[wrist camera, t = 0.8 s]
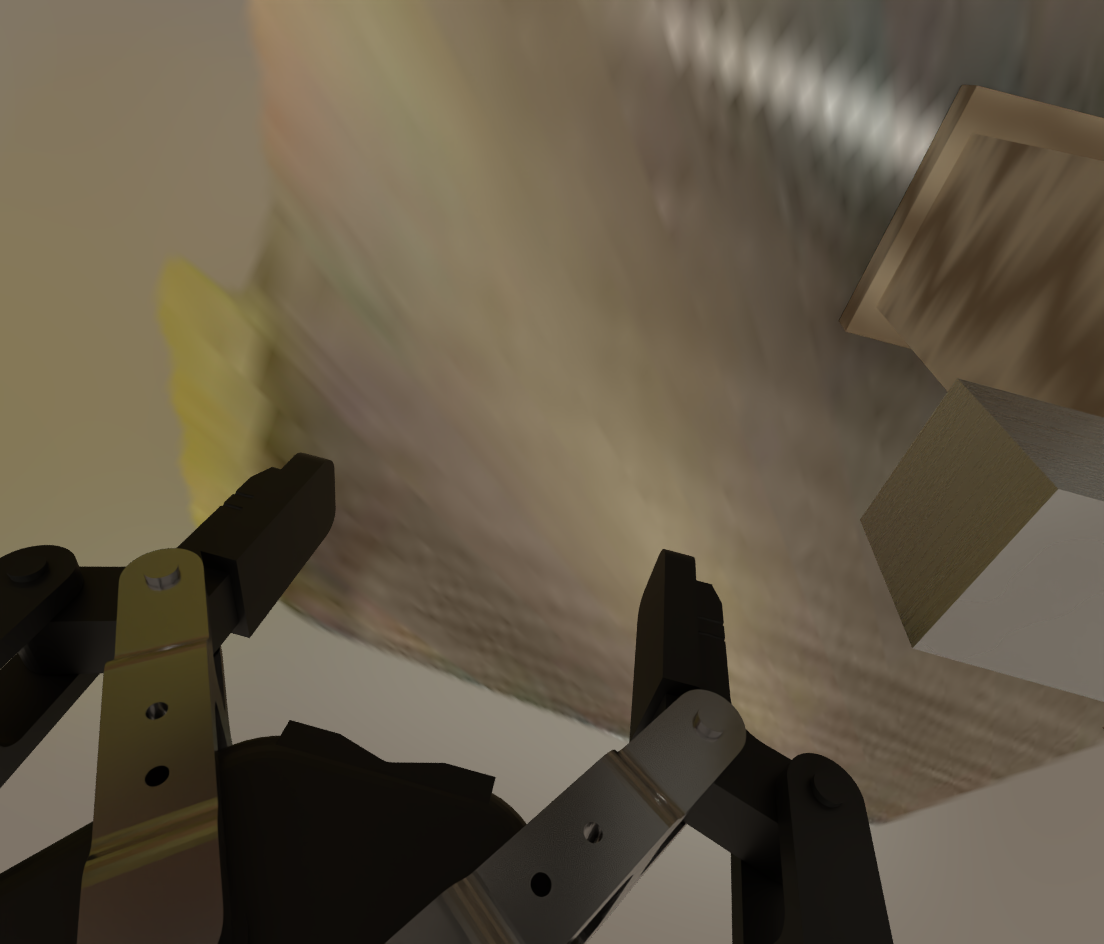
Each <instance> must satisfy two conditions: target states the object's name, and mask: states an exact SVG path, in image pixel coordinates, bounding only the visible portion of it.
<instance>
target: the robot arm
mask: <svg viewBox="0 0 1104 944" xmlns="http://www.w3.org/2000/svg"><path fill="white" fill-rule="evenodd" d="M335 510H336V506H335V474H334V464H333V462H332V461H331V460H328V459H324V458H320V457H317V456H313V455H309V454H305V453H297V454H296V455H295V456H294V457H293V458H292V459H291V460H290V461H289V462H288V463H287V464H286V465H285V466H284V467H283V468H282V469H277V468H274V467H271V468H269V469H267V470H265V471H263V472H260V473H258V474H256V475H254V476H252V477H250V478H249V479H248V480H247V481H246V482H245V483H244V484H243V485H242V486H241V487H240V488H239V489H238V490H237V491H236V493H235V494H233V495H231V496H230V497H229V498H228V499H227V500H226V501H225V502H224V505H223V506H220V507H219V508H218V509H217V510H216V511H215V512H214V513H213V514H212V515H211V516H210V517H208V518H207V519H206V520H205V521H204V522H203V523H202V524H201V525H200V526H199V527H198V528H197V529H196V530H195V531H194V532H193V533H192V534H191V535H190V536H189V537H188V538H187V539H186V540H185V541H184V542H182V543H181V544H180V545H179V546H178V547H177V548H167V549H160V550H155V551H152V552H149V553H146V554H144V555H142V556H140V557H138V558H136V559H135V560H133V561H132V562H131V563H130V564H129V565H127V566H126V567H79V565H78V563H77V560H76V558H75V556H74V554H73V553H72V552H71V551H70V550H68V549H66V548H63V547H60V546H54V545H40V546H32V547H27V548H23V549H20V550H17V551H14V552H11V553H9V554H7V555H5V556H3V557H1V558H0V788H1V787H2V785H3V784H4V783H5V782H6V781H7V780H8V779H9V777H10V776H11V775H12V774H13V773H14V772H15V771H16V769H17V768H18V767H19V766H20V765H21V764H22V762H23V761H24V760H25V759H26V758H27V757H28V756H29V754H30V753H31V752H32V751H33V750H34V749H35V748H36V746H37V745H38V744H39V743H40V742H41V741H42V740H43V738H44V737H45V736H46V735H47V734H48V732H49V731H50V730H51V729H52V728H53V727H54V726H55V725H56V723H57V722H58V721H59V720H60V719H61V718H62V716H63V715H64V714H65V713H66V712H67V711H68V710H69V708H70V707H71V706H72V705H73V704H74V703H75V701H76V700H77V699H78V698H79V697H80V696H81V694H82V693H83V692H84V691H85V690H86V689H87V688H88V687H89V685H90V684H91V683H92V682H93V681H94V680H95V678H96V677H97V676H98V675H99V674H100V673H104V675H103V688H102V702H101V716H100V731H99V745H98V760H97V773H96V789H95V802H94V817H93V822H91V823H89V824H87V825H86V826H84V827H82V828H80V829H79V830H77V831H75V832H73V833H71V834H70V835H68V836H66V837H64V838H63V839H61V840H59V841H57V842H55V843H54V844H52V845H50V846H49V847H47V848H45V849H43V850H41V851H40V852H38V853H36V854H34V855H32V856H31V857H29V858H27V859H25V860H24V861H22V862H20V863H18V864H17V865H15V866H13V867H11V868H9V869H8V870H6V871H4V872H2V873H1V874H0V944H586V943H587V942H588V941H589V939H590V938H591V937H592V936H593V935H594V934H595V933H596V931H597V930H598V929H599V928H600V927H601V926H602V924H603V923H604V922H605V921H606V920H607V919H608V917H609V916H610V915H611V914H612V912H613V911H614V910H615V909H616V908H617V906H618V905H619V904H620V903H621V902H622V900H623V899H624V898H625V896H626V895H627V894H628V892H629V891H630V890H631V889H632V888H633V886H634V885H635V884H636V883H637V882H638V880H639V879H640V878H641V877H642V876H643V875H644V873H645V872H646V871H647V870H648V869H649V868H650V867H651V865H652V864H653V863H654V862H655V861H656V860H657V858H658V857H659V856H660V855H661V854H662V853H663V852H664V850H665V849H666V848H667V847H668V846H669V845H670V843H671V842H672V841H673V840H674V839H675V837H676V836H677V835H678V834H679V833H680V832H681V831H682V830H683V828H684V827H685V826H686V825H687V824H688V825H690V826H691V827H693V828H694V829H696V830H697V831H699V832H701V833H702V834H703V835H705V836H706V837H708V838H709V839H711V840H713V841H714V842H715V843H717V844H718V845H720V846H721V847H723V848H724V849H726V850H728V851H729V852H730V853H731V884H732V885H731V889H732V940H733V941H732V942H733V943H732V944H893V939H892V935H891V930H890V925H889V920H888V915H887V910H886V905H885V900H884V895H883V890H882V886H881V881H880V876H879V871H878V866H877V861H876V857H875V851H874V846H873V842H872V837H871V832H870V827H869V822H868V817H867V812H866V807H865V803H864V799H863V796H862V794H861V792H860V790H859V788H858V786H857V784H856V783H855V782H854V780H853V779H852V777H851V776H850V775H849V774H848V773H847V772H846V771H845V770H844V769H843V768H842V767H841V766H839V765H838V764H837V763H835V762H834V761H832V760H830V759H828V758H827V757H824V756H822V755H818V754H814V753H803V754H800V755H798V756H796V757H795V758H793V760H791V759H789V758H787V757H786V756H784V755H782V754H780V753H779V752H777V751H775V750H774V749H772V748H770V747H769V746H767V745H765V744H764V743H762V742H761V741H759V740H758V739H756V738H755V737H754V736H753V735H751V734H750V733H749V732H748V731H747V730H746V729H745V725H744V722H743V720H742V718H741V716H740V714H739V713H738V711H737V710H736V709H735V707H734V706H733V705H732V704H731V699H730V689H729V678H728V666H727V655H726V644H725V642H724V639H725V633H724V626H723V623H724V621H723V610H722V603H721V601H720V599H719V597H718V595H717V594H716V592H715V590H714V588H713V586H712V584H708V583H704V582H700V581H697V580H696V566H695V558H694V557H692V556H689V555H685V554H681V553H677V552H673V551H670V550H666V549H663V550H662V551H661V552H660V554H659V557H658V559H657V561H656V564H655V566H654V569H653V571H652V574H651V576H650V578H649V581H648V583H647V586H646V588H645V590H644V593H643V596H642V599H641V603H640V607H639V613H638V622H637V637H636V652H635V666H634V681H633V696H632V711H631V726H630V741H629V743H628V744H627V745H626V746H625V747H624V748H623V749H622V750H620V751H618V752H617V751H616V750H612V751H610V752H608V753H607V754H606V755H604V756H603V757H602V758H601V759H600V760H598V761H597V762H596V763H595V764H594V765H593V766H592V767H591V768H590V769H588V770H587V771H586V772H585V773H584V774H583V775H582V776H580V777H579V778H578V779H577V780H576V781H575V782H574V783H573V784H572V785H570V786H569V787H568V788H567V789H566V790H565V791H564V792H563V793H561V794H560V795H559V796H558V797H557V798H556V799H555V800H554V801H552V802H551V803H550V804H549V805H548V806H547V807H546V808H545V809H543V810H542V811H541V812H540V813H539V814H538V815H537V816H536V817H535V818H533V819H532V820H531V821H530V822H529V823H528V824H526V823H525V821H524V820H523V819H522V817H521V816H520V815H519V814H518V813H517V812H516V811H515V810H514V809H513V808H512V807H511V806H510V805H508V804H507V803H506V802H505V801H503V800H502V799H501V798H499V797H497V796H496V795H494V794H493V793H492V789H493V785H494V781H495V777H493V776H489V775H486V774H482V773H479V772H475V771H471V770H468V769H464V768H461V767H457V766H453V765H450V764H446V763H392V762H386V761H384V760H382V759H380V758H378V757H377V756H375V755H373V754H372V753H370V752H368V751H367V750H365V749H364V748H362V747H360V746H359V745H357V744H355V743H354V742H352V741H351V740H349V739H347V738H346V737H344V736H342V735H341V734H338V733H335V732H331V731H327V730H323V729H320V728H317V727H313V726H309V725H306V724H302V723H299V722H295V721H291V720H289V722H288V724H287V726H286V727H285V729H284V731H283V732H282V734H281V736H269V737H260V738H255V739H251V740H246V741H243V742H240V743H237V744H234V745H232V739H231V734H230V726H229V718H228V708H227V699H226V687H225V676H224V666H223V656H222V649H221V645H222V643H223V642H224V641H225V640H226V638H227V637H228V636H229V634H230V633H233V634H237V635H241V636H244V637H248V638H250V637H251V635H252V634H253V633H254V631H255V630H256V629H257V627H258V626H259V625H260V623H261V622H262V621H263V619H264V618H265V617H266V616H267V614H268V613H269V611H270V610H271V609H272V607H273V606H274V605H275V604H276V602H277V601H278V600H279V598H280V597H281V596H282V594H283V593H284V592H285V590H286V589H287V588H288V586H289V585H290V584H291V582H292V581H293V580H294V578H295V577H296V576H297V574H298V573H299V572H300V570H301V569H302V568H303V566H304V565H305V564H306V562H307V561H308V560H309V558H310V557H311V556H312V554H313V553H314V552H315V550H316V549H317V548H318V546H319V545H320V544H321V542H322V541H323V540H324V538H325V537H326V536H327V534H328V532H329V531H330V529H331V526H332V524H333V521H334V517H335ZM10 659H11V660H10ZM9 660H10V661H9ZM8 661H9V662H8ZM7 662H8V663H7ZM6 663H7V664H6ZM5 664H6V665H5ZM4 665H5V666H4ZM3 666H4V667H3ZM2 667H3V668H2ZM1 668H2V669H1Z"/></svg>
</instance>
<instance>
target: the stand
mask: <svg viewBox="0 0 1104 944" xmlns="http://www.w3.org/2000/svg"><path fill="white" fill-rule="evenodd" d="M839 322H840V324H841V325H842V327H843V328H844V330H845V331H846V332H850V333H853V334H857V335H861V336H865V337H868V338H872V339H876V340H879V341H883V342H887V343H891V344H894V345H898V346H902V347H905V348H909V349H912V350H913V351H914V352H915V354H916V355H917V356H918V357H919V358H920V359H921V361H922V362H923V363H924V364H925V365H926V367H927V368H928V369H929V370H930V371H931V372H932V374H933V375H934V376H935V377H936V378H937V380H938V381H939V382H940V383H941V384H942V385H943V387H944V388H945V389H946V390H947V391H949V389H950V388H951V387H952V385H953V384H954V382H955V381H956V379H957V378H959V379H962V380H966V381H970V382H974V383H977V384H981V385H985V386H988V387H992V388H996V389H1000V390H1003V391H1007V392H1011V393H1014V394H1018V395H1022V396H1026V397H1029V398H1033V399H1037V400H1040V401H1044V402H1048V403H1052V404H1055V405H1059V406H1063V407H1066V408H1070V409H1074V410H1078V411H1081V412H1085V413H1089V414H1092V415H1096V416H1100V417H1104V118H1101V117H1097V116H1093V115H1089V114H1085V113H1081V112H1077V111H1073V110H1070V109H1066V108H1062V107H1058V106H1054V105H1050V104H1046V103H1043V102H1039V101H1035V100H1031V99H1027V98H1023V97H1019V96H1016V95H1012V94H1008V93H1004V92H1000V91H996V90H992V89H988V88H985V87H981V86H976V85H962V86H961V88H960V90H959V92H958V94H957V95H956V97H955V99H954V101H953V103H952V105H951V107H950V109H949V111H948V113H947V115H946V117H945V118H944V120H943V122H942V124H941V126H940V128H939V130H938V132H937V134H936V136H935V138H934V140H933V141H932V143H931V145H930V147H929V149H928V151H927V153H926V155H925V157H924V159H923V161H922V163H921V164H920V166H919V168H918V170H917V172H916V174H915V176H914V178H913V180H912V182H911V184H910V186H909V187H908V189H907V191H906V193H905V195H904V197H903V199H902V201H901V203H900V205H899V207H898V209H897V210H896V212H895V214H894V216H893V218H892V220H891V222H890V224H889V226H888V228H887V230H886V232H885V233H884V235H883V237H882V239H881V241H880V243H879V245H878V247H877V249H876V251H875V253H874V255H873V256H872V258H871V260H870V262H869V264H868V266H867V268H866V270H865V272H864V274H863V276H862V278H861V279H860V281H859V283H858V285H857V287H856V289H855V291H854V293H853V295H852V297H851V299H850V301H849V302H848V304H847V306H846V308H845V310H844V312H843V314H842V316H841V318H840V320H839ZM1103 729H1104V727H1103Z"/></svg>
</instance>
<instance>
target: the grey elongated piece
mask: <svg viewBox="0 0 1104 944" xmlns="http://www.w3.org/2000/svg"><path fill="white" fill-rule="evenodd" d="M860 521H861V524H862V526H863V529H864V531H865V533H866V536H867V538H868V541H869V543H870V546H871V548H872V551H873V553H874V555H875V558H876V560H877V563H878V565H879V568H880V570H881V573H882V575H883V577H884V580H885V582H886V585H887V587H888V590H889V592H890V594H891V597H892V599H893V602H894V604H895V607H896V609H897V612H898V614H899V616H900V619H901V621H902V624H903V626H904V629H905V631H906V634H907V636H908V638H909V641H910V643H911V646H912V648H913V649H917V650H920V651H924V652H927V653H931V654H935V655H938V656H942V657H945V658H949V659H953V660H956V661H960V662H963V663H967V664H970V665H974V666H978V667H981V668H985V669H988V670H992V671H996V672H999V673H1003V674H1006V675H1010V676H1013V677H1017V678H1021V679H1024V680H1028V681H1031V682H1035V683H1039V684H1042V685H1046V686H1049V687H1053V688H1056V689H1060V690H1064V691H1067V692H1071V693H1074V694H1078V695H1082V696H1085V697H1089V698H1092V699H1096V700H1099V701H1103V702H1104V417H1100V416H1096V415H1092V414H1089V413H1085V412H1081V411H1078V410H1074V409H1070V408H1066V407H1063V406H1059V405H1055V404H1052V403H1048V402H1044V401H1040V400H1037V399H1033V398H1029V397H1026V396H1022V395H1018V394H1014V393H1011V392H1007V391H1003V390H1000V389H996V388H992V387H988V386H985V385H981V384H977V383H974V382H970V381H966V380H962V379H959V378H957V379H956V381H955V382H954V384H953V385H952V387H951V388H950V389H949V391H948V392H947V394H946V395H945V397H944V398H943V400H942V401H941V403H940V404H939V405H938V407H937V408H936V410H935V411H934V413H933V414H932V416H931V417H930V419H929V420H928V421H927V423H926V424H925V426H924V427H923V429H922V430H921V432H920V433H919V435H918V436H917V437H916V439H915V440H914V442H913V443H912V445H911V446H910V448H909V449H908V451H907V452H906V453H905V455H904V456H903V458H902V459H901V461H900V462H899V464H898V465H897V466H896V468H895V469H894V471H893V472H892V474H891V475H890V477H889V478H888V480H887V481H886V482H885V484H884V485H883V487H882V488H881V490H880V491H879V493H878V494H877V496H876V497H875V498H874V500H873V501H872V503H871V504H870V506H869V507H868V509H867V510H866V512H865V513H864V514H863V516H862V517H861V519H860Z"/></svg>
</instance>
